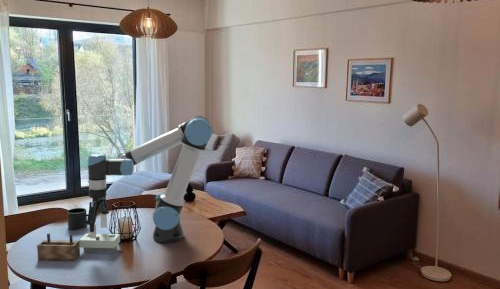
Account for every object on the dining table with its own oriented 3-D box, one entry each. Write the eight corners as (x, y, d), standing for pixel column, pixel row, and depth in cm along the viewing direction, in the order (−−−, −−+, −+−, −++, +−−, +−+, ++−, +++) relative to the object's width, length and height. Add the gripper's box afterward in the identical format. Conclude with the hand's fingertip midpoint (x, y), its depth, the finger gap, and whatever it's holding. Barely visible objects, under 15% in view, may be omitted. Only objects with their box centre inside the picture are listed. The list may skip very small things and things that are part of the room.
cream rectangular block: (120, 241, 201) (119, 232, 200) (114, 248, 193) (113, 238, 192) (86, 240, 201) (85, 231, 200) (79, 247, 193) (78, 238, 192)
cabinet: (80, 255, 191) (78, 233, 190) (74, 261, 186) (73, 238, 184) (44, 254, 192) (43, 232, 190) (38, 260, 186) (36, 237, 184)
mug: (87, 230, 223) (87, 213, 221) (65, 229, 223) (64, 213, 221) (94, 224, 232) (93, 208, 230) (72, 223, 232) (71, 207, 230)
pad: (116, 249, 199) (116, 243, 199) (113, 252, 195) (113, 246, 195) (87, 248, 199) (86, 242, 199) (83, 251, 195) (83, 245, 195)
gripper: (99, 181, 205) (100, 223, 208) (77, 195, 180) (79, 242, 184) (114, 181, 205) (115, 223, 208) (95, 195, 180) (96, 243, 183)
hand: (98, 232), depth 196 cm, fingers open, 13 cm apart
